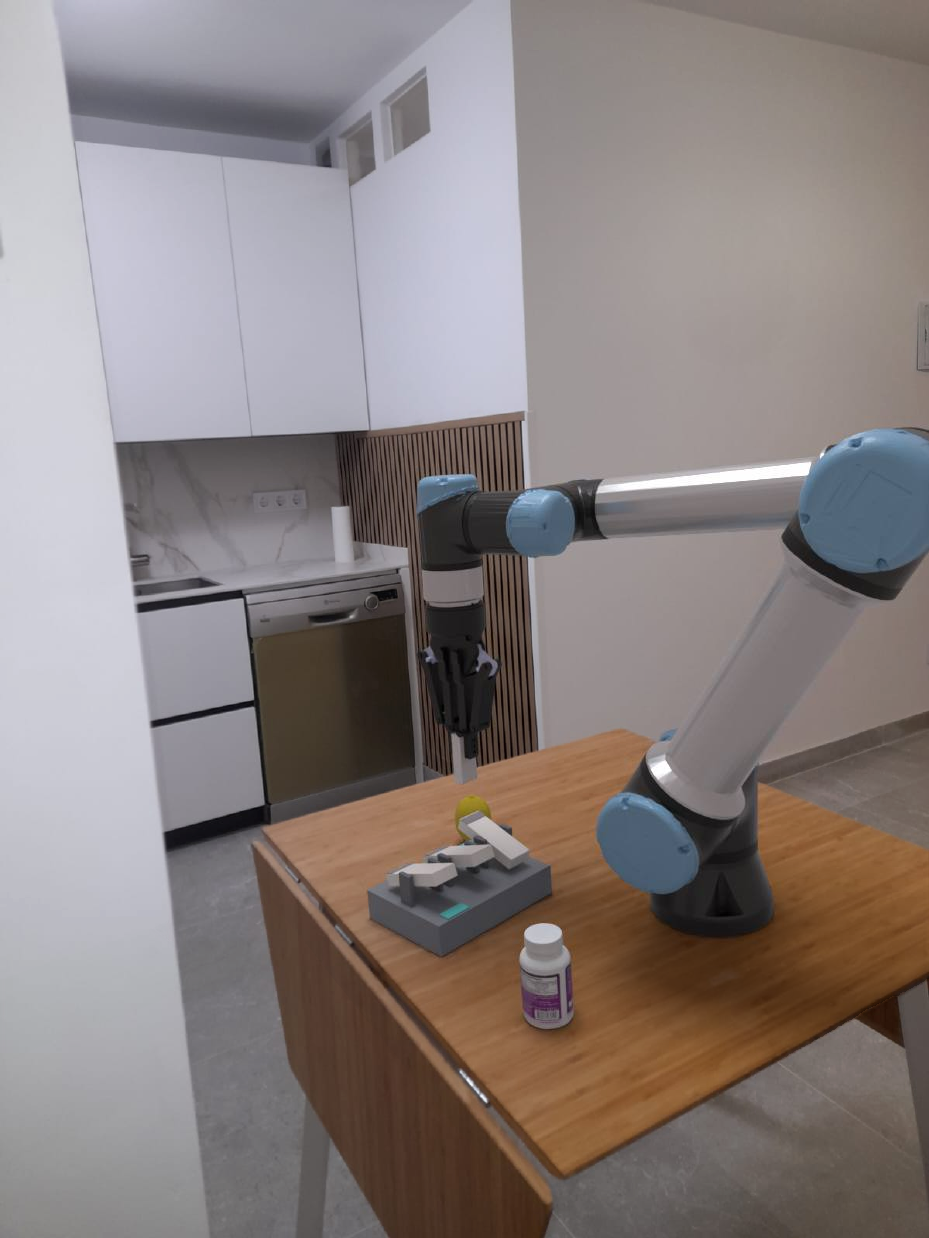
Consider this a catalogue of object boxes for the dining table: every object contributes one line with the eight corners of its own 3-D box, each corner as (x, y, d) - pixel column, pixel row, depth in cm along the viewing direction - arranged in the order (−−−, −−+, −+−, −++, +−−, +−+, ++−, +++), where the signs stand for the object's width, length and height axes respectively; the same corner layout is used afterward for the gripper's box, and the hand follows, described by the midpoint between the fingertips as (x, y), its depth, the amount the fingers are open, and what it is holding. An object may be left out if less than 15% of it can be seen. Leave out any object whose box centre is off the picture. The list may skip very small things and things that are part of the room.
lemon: (489, 852, 135) (486, 801, 133) (453, 851, 136) (449, 801, 135) (496, 836, 140) (492, 787, 139) (461, 835, 141) (457, 787, 140)
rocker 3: (528, 858, 122) (530, 848, 121) (508, 869, 119) (510, 859, 118) (477, 819, 128) (479, 809, 127) (457, 829, 125) (458, 819, 125)
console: (552, 892, 122) (548, 837, 120) (441, 956, 108) (436, 895, 107) (479, 862, 132) (475, 811, 130) (369, 918, 119) (364, 861, 117)
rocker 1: (458, 874, 112) (455, 861, 112) (434, 887, 109) (430, 873, 109) (411, 874, 120) (407, 862, 120) (387, 886, 117) (384, 873, 117)
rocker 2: (495, 855, 116) (492, 843, 116) (473, 867, 114) (469, 854, 114) (447, 857, 124) (444, 845, 124) (425, 868, 121) (422, 855, 121)
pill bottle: (546, 993, 100) (541, 913, 98) (584, 1013, 96) (579, 930, 94) (512, 1016, 96) (506, 934, 94) (550, 1038, 92) (545, 952, 91)
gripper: (513, 599, 111) (523, 782, 115) (439, 591, 120) (451, 761, 124) (470, 611, 106) (482, 801, 110) (396, 601, 115) (410, 777, 119)
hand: (465, 779), depth 117 cm, fingers closed
